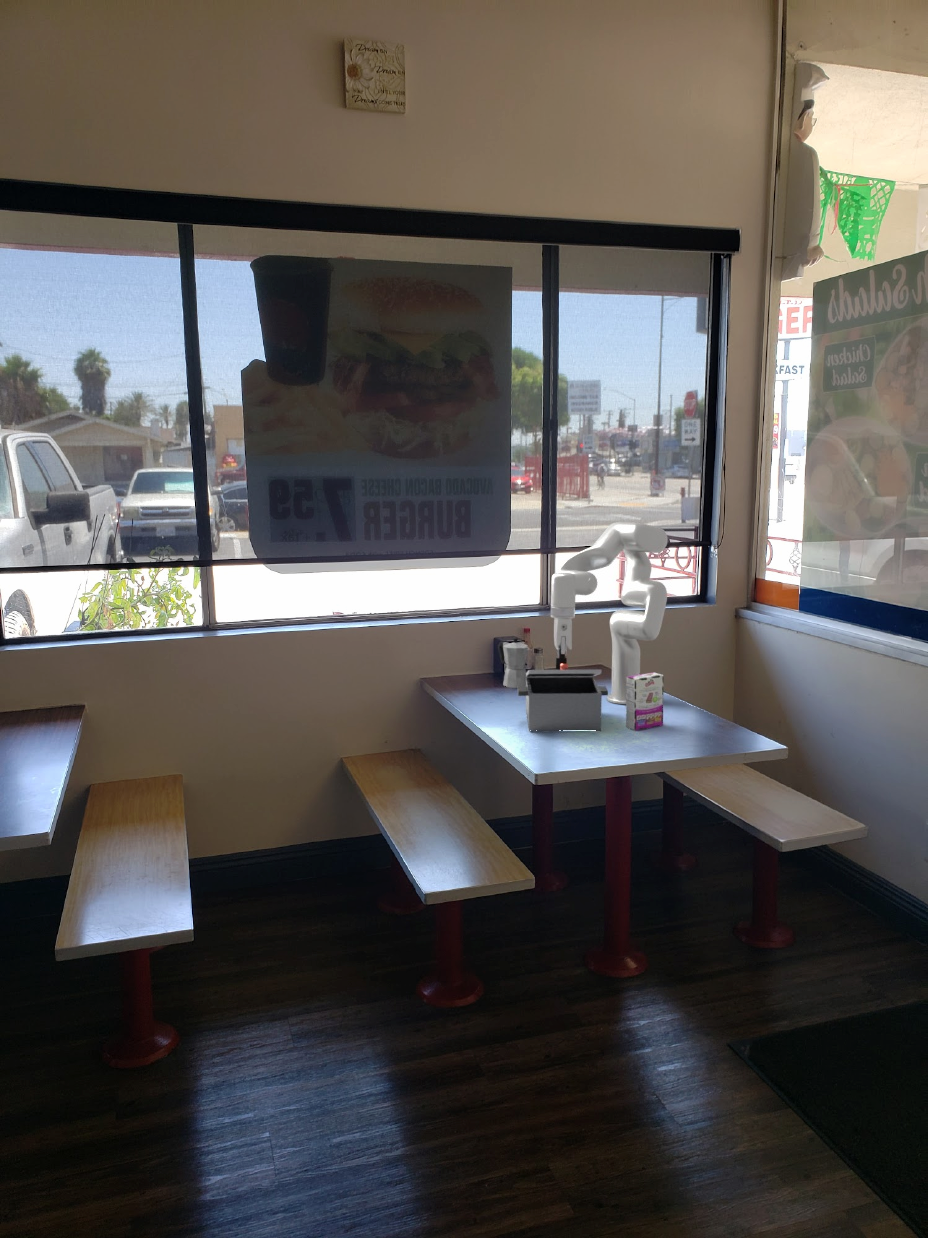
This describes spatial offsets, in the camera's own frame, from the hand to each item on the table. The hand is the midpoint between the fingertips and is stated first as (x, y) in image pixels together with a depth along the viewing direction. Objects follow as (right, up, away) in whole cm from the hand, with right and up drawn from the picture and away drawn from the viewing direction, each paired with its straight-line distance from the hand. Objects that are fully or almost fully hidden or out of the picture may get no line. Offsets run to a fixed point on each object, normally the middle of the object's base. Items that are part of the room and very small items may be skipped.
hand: (561, 670), depth 282 cm
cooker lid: (+1, -2, +2) cm, 3 cm away
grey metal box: (+1, -17, +4) cm, 17 cm away
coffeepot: (-12, -9, +53) cm, 55 cm away
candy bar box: (+26, -18, -2) cm, 31 cm away
